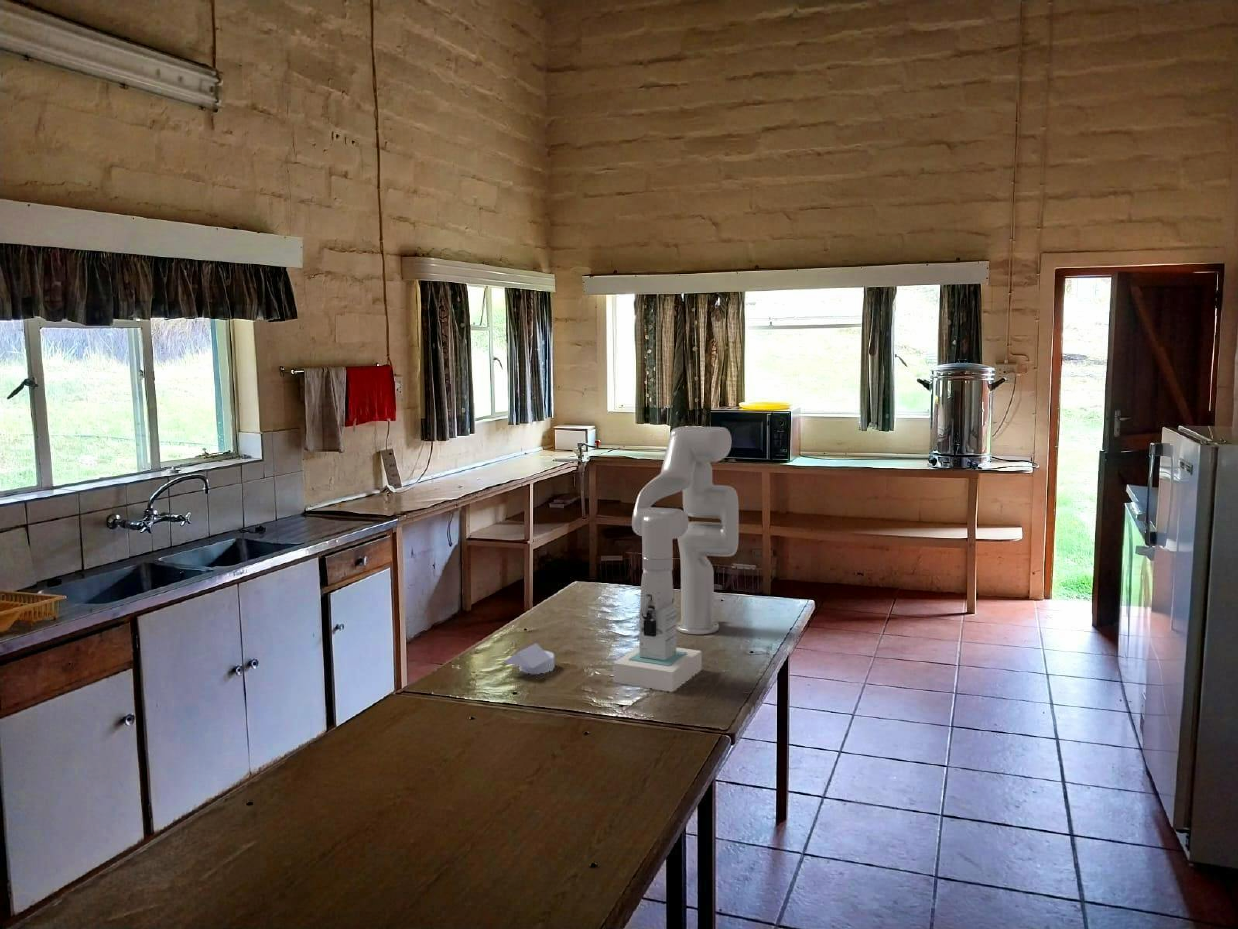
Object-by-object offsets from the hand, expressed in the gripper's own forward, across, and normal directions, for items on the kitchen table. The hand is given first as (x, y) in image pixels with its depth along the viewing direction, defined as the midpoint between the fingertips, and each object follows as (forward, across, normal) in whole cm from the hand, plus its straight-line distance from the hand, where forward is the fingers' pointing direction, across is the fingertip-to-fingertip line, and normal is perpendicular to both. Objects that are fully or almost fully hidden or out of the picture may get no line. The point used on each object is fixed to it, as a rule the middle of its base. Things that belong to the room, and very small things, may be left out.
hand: (658, 630), depth 246 cm
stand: (+12, +1, 0) cm, 12 cm away
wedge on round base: (+12, +10, -31) cm, 35 cm away
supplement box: (+7, 0, 0) cm, 7 cm away
